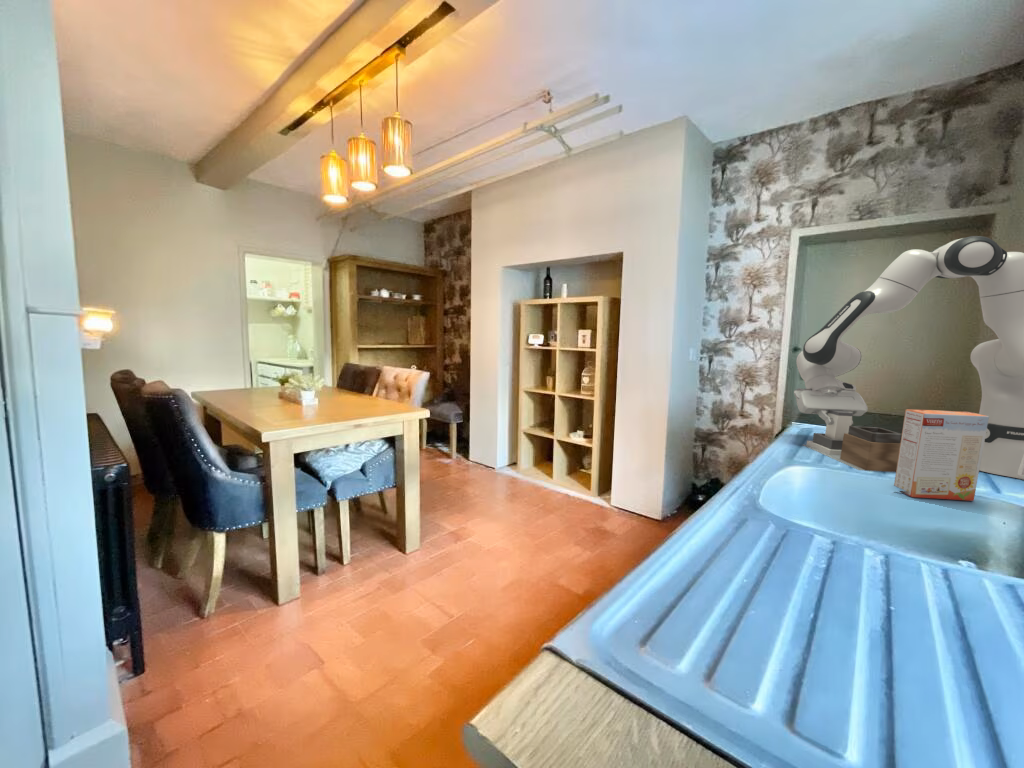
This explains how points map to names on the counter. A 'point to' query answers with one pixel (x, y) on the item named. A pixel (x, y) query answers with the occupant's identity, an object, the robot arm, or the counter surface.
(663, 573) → the counter surface
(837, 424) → the plug
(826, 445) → the lower jack
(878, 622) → the counter surface
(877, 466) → the upper stand
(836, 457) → the console board
